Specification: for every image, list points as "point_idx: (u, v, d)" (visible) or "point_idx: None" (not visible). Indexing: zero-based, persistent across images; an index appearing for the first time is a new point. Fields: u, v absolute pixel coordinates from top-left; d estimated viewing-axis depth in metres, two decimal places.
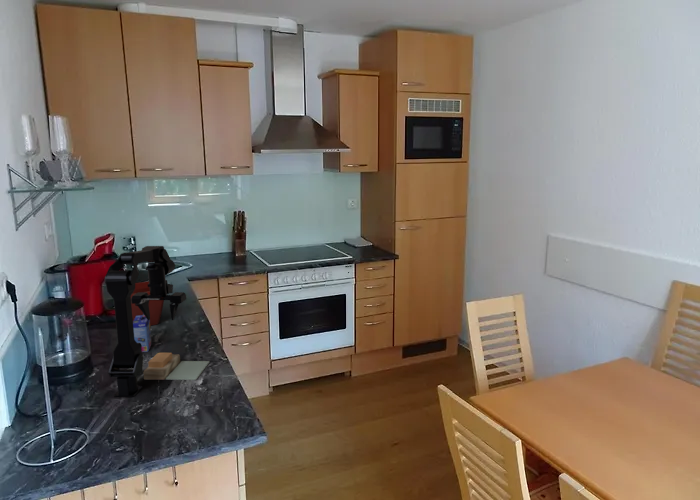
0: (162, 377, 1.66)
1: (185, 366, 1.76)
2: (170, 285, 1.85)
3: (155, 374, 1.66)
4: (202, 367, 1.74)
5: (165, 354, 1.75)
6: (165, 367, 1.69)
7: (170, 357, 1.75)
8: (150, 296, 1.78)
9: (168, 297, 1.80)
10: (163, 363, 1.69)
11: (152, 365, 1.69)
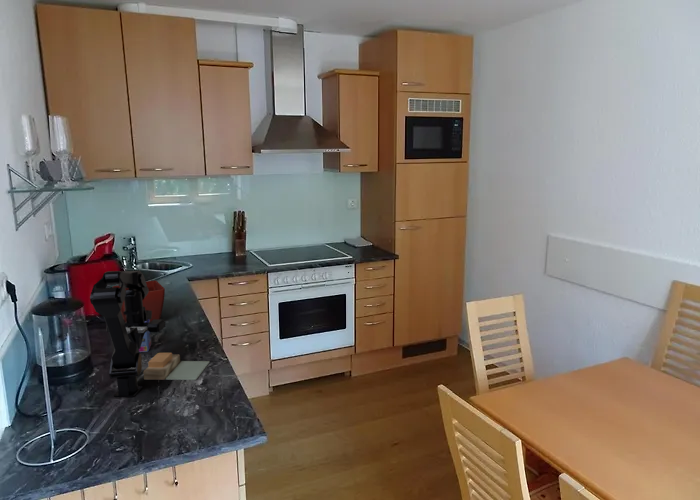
0: (162, 377, 1.66)
1: (185, 366, 1.76)
2: (148, 311, 1.75)
3: (155, 374, 1.66)
4: (202, 367, 1.74)
5: (165, 354, 1.75)
6: (165, 367, 1.69)
7: (170, 357, 1.75)
8: (126, 324, 1.67)
9: (146, 325, 1.70)
10: (163, 363, 1.69)
11: (152, 365, 1.69)
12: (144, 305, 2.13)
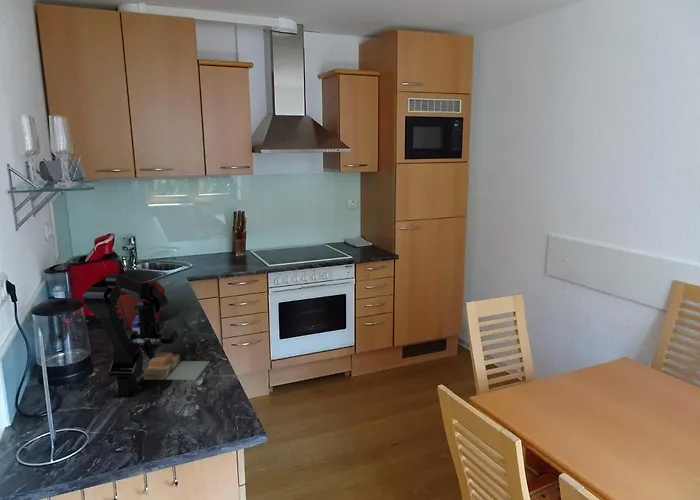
0: (162, 377, 1.66)
1: (185, 366, 1.76)
2: (161, 322, 1.76)
3: (155, 374, 1.66)
4: (202, 367, 1.74)
5: (165, 354, 1.75)
6: (165, 367, 1.69)
7: (170, 357, 1.75)
8: (140, 336, 1.68)
9: (159, 336, 1.70)
10: (163, 363, 1.69)
11: (152, 365, 1.69)
12: None
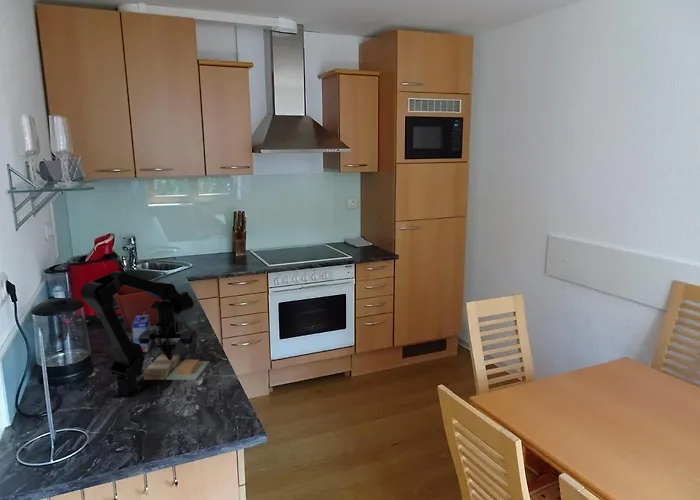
0: (162, 377, 1.66)
1: None
2: (180, 322, 1.75)
3: (155, 374, 1.66)
4: (202, 367, 1.74)
5: None
6: (165, 367, 1.69)
7: None
8: (159, 336, 1.68)
9: (178, 336, 1.70)
10: None
11: (187, 371, 1.69)
12: (144, 305, 2.13)
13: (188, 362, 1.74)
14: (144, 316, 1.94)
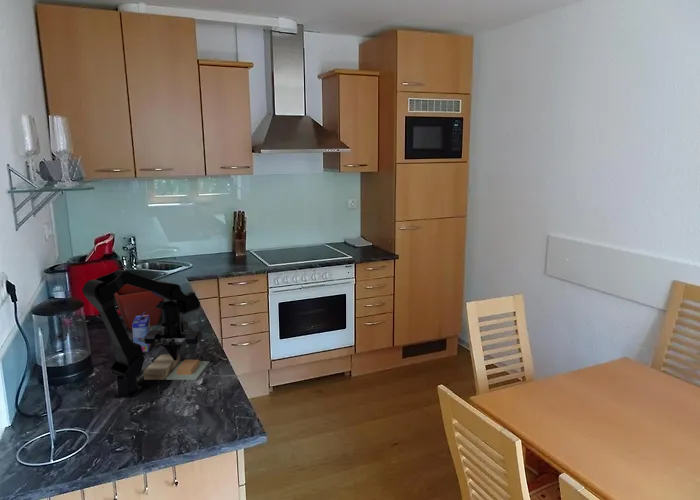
0: (162, 377, 1.66)
1: None
2: (185, 322, 1.75)
3: (155, 374, 1.66)
4: (202, 367, 1.74)
5: None
6: (165, 367, 1.69)
7: None
8: (164, 336, 1.68)
9: (183, 336, 1.70)
10: None
11: (187, 371, 1.69)
12: (144, 305, 2.13)
13: (188, 362, 1.74)
14: (144, 316, 1.94)
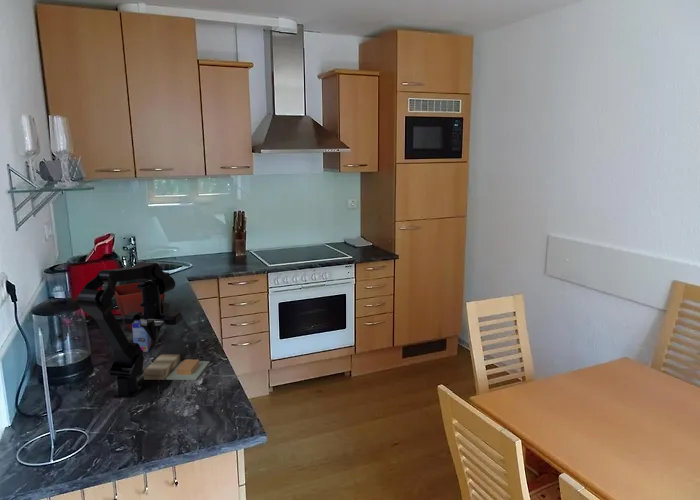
0: (162, 377, 1.66)
1: None
2: (166, 304, 1.73)
3: (155, 374, 1.66)
4: (202, 367, 1.74)
5: None
6: (165, 367, 1.69)
7: None
8: (143, 316, 1.66)
9: (163, 317, 1.68)
10: None
11: (187, 371, 1.69)
12: None
13: (188, 362, 1.74)
14: None
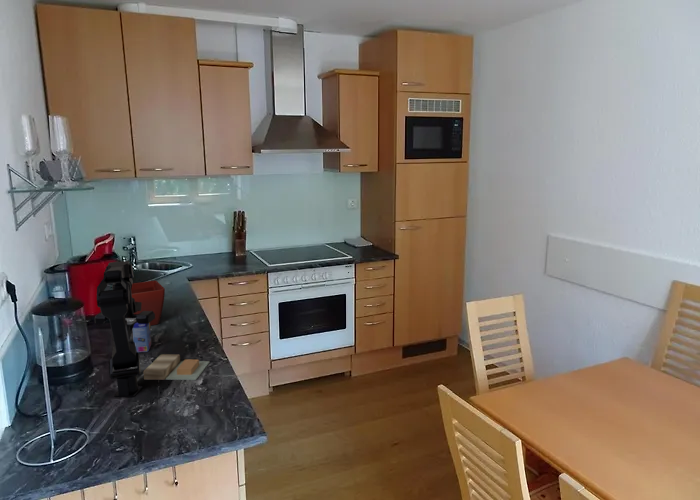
0: (162, 377, 1.66)
1: None
2: (138, 303, 1.72)
3: (155, 374, 1.66)
4: (202, 367, 1.74)
5: None
6: (165, 367, 1.69)
7: None
8: None
9: (135, 316, 1.67)
10: None
11: (187, 371, 1.69)
12: (144, 305, 2.13)
13: (188, 362, 1.74)
14: None
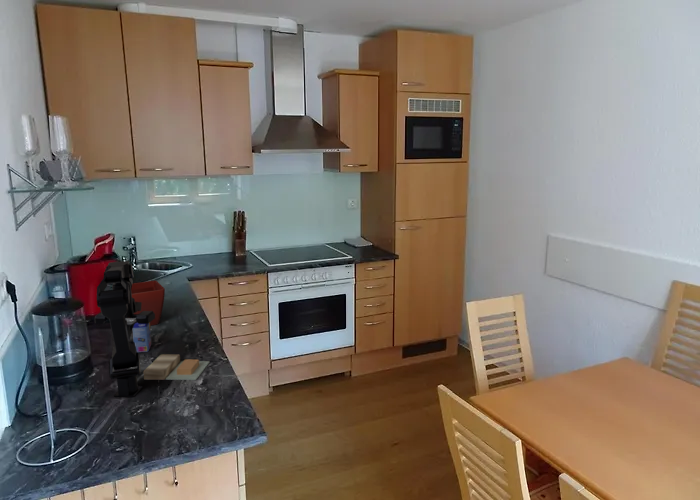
0: (162, 377, 1.66)
1: None
2: (138, 303, 1.72)
3: (155, 374, 1.66)
4: (202, 367, 1.74)
5: None
6: (165, 367, 1.69)
7: None
8: None
9: (135, 316, 1.67)
10: None
11: (187, 371, 1.69)
12: (144, 305, 2.13)
13: (188, 362, 1.74)
14: None
